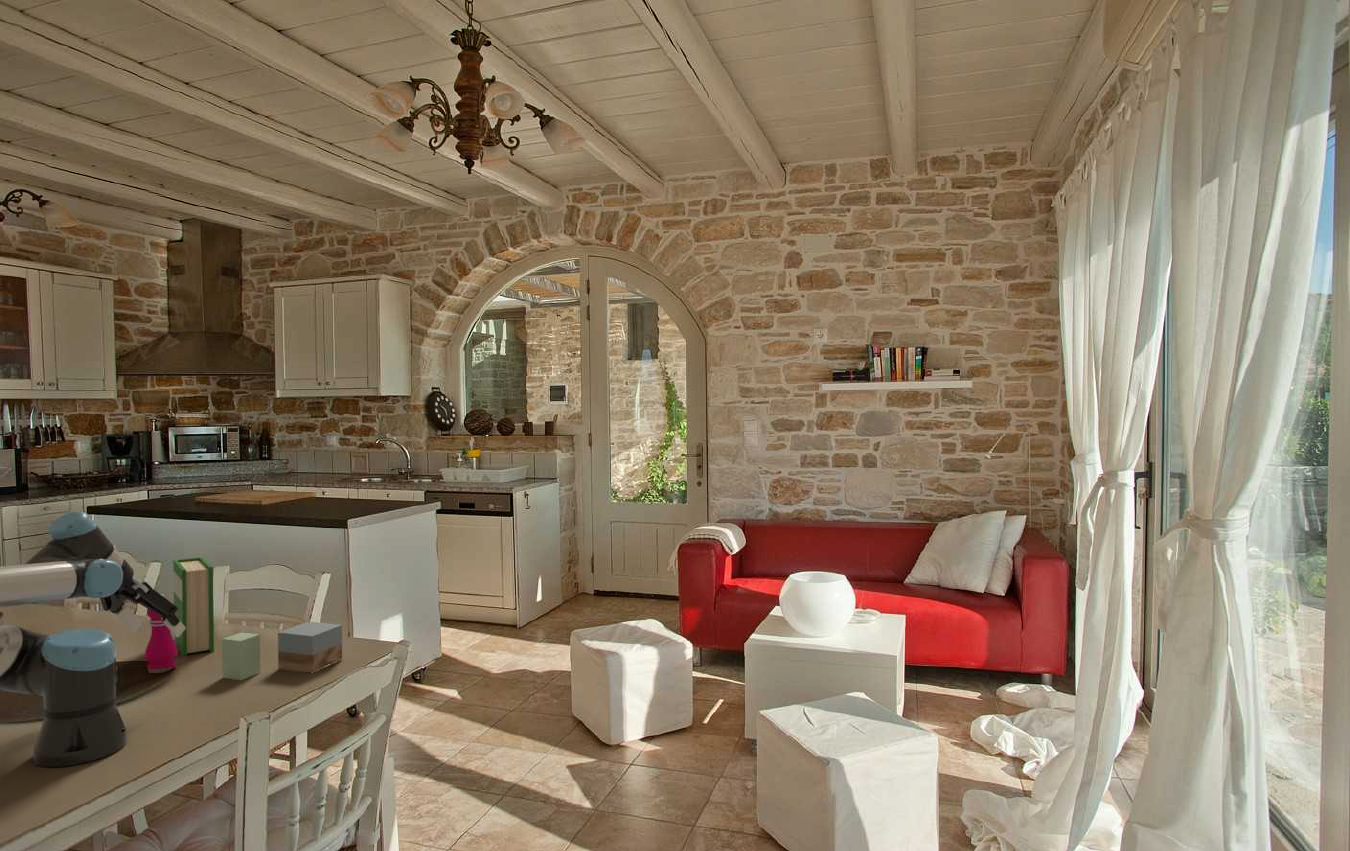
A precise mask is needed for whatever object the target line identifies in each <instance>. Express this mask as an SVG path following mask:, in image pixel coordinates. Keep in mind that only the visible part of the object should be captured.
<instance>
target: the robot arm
mask: <svg viewBox="0 0 1350 851" xmlns="http://www.w3.org/2000/svg"><path fill="white" fill-rule="evenodd" d="M47 532H48V534H49V536H50V538H51V540H49V541H48V542H47V544H46V545H44V546H43V547H42V548H41V549H39V550H38V551H37V552H36V553H35V554H34V555H33V556H31V557H30V558H29V559H28V560H27V561H26V562H25V563H23V564H15V565H14V564H13V565H4V566H3V565H1V566H0V609H2V608H8V607H14V606H16V607H17V606H22V605H29V604H30V605H37V604H39V603H43V602H45V603H46V602H51V601H53V602H54V601H57V600H59V601H60V600H68V599H69V600H70V599H71V600H72V599H77V598H84V597H85V598H86V597H88V598H92V599H97V598H99V600H100V603H101V606H102V609H103V610H104V611H105V612H109V611H110V612H111V613H112V614H113V615H115V614H116V617H118V619H119V620H120V621H121V622H122V623H123V624H124V625H125V627H127V629H129V631H130V632H131V633H135V632H136V631H137V630H138V629H139V628H140V626H141V625H143V623H142V621H141V620H140V619H139V618H138V616H137V615H136V614H135V613H134V612H133V611H132V610H131V609H130V607H129V606H128V605H125V604H126V602H125V601H129V602H131V603H133V604H134V605H141V606H143V607H145V608H146V610H147V609H149V610H151V611H152V612H154V613H156V614H157V615H159V616H161V617H162V618H161V621H163V622H164V624H165V625H166V626H167V627H168V628H169V630H170V631H171V634H172V635H173V637H174V636H175V637H179V636H180V635H181V634H182V632H183V631H184V630H185V629H186V627H185V626H184V625H183V624H182V622H181V621H180V620H179V619H178V618H177V616H176V615H175V612H176V611H177V610H178V607H176V606H175V605H174V603H173V602H172V601H171V602H172V603H173V604H172V603H171V602H170V600H169V599H167V598H166V597H165V596H164V597H163V596H162V595H160V594H161V593H159V592H158V591H156V589H154V588H153V587H152V586H151V585H150V584H149V583H148V582H147V581H143V582H142V583H141V584H139V583H138V582H136V581H135V580H134V569H133V568H132V566H131V565H130V564H129V563H128V561H127V560H126V559H124V557H123V555H121V553H120V552H119V551H118V550H117V549H116V548H117V547H116V545H113V543H112V542H111V541H110V540H109V539H108V538H107V535H105V534H104V532H103V531H102V530H101V529H100V527H99V526H98V524H97V523H96V522H95V521H94V520H93V519H92V518H91V517H90V516H89V515H88V514H87V512H84V511H77V510H75V511H73V510H72V511H69V512H67V513H63V514H62V515H60V516H58V517H57V518H55V519H54V520H53V521H52V522H51V523H50V525H49V526H48V528H47ZM168 600H169V601H168ZM0 692H6V693H18V694H26V695H31V696H32V695H33V696H38V697H42V698H43V721H42V724H41V727H40V729H39V733H38V735H37V739H36V742H35V744H34V746H33V750H32V754H33V756H32V761H33V763H34V764H35V765H36V766H40V767H46V768H47V767H48V768H57V767H61V768H62V767H68V766H75V765H81V764H85V763H90V762H93V761H96V760H100V759H102V758H105V757H108V756H110V755H112V754H114V753H116V752H118V751H120V750H121V749H123V748H124V747H125V746H126V744H127V742H128V731H127V728H126V726H125V723H124V721H123V718H122V716H121V714H120V712H119V709H118V707H117V650H116V645H115V639H114V637H113V635H111V634H110V633H108V632H107V631H105V630H104V631H103V630H99V629H93V628H92V629H91V628H87V629H81V628H77V629H67V630H63V631H59V632H56V633H53V634H44V633H40V632H38V631H33V630H30V629H26V628H24V627H20V626H17V625H13V624H4V625H0Z"/></svg>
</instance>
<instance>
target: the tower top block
mask: <svg viewBox="0 0 1350 851" xmlns="http://www.w3.org/2000/svg"><path fill="white" fill-rule="evenodd" d="M341 643H342V644H343V624H336V623H326V622H315V621H306V622H304V623H301V624H298V625H294V626H292V627H289V628H287V629H284V630H281V631H278V632H277V652H278V651H280V652H288V653H296V654H305V655H315V654H317V653H320V652H322V651H325V650H327V649H329V648H332V647H334V646H337V645H339V644H341Z"/></svg>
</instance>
